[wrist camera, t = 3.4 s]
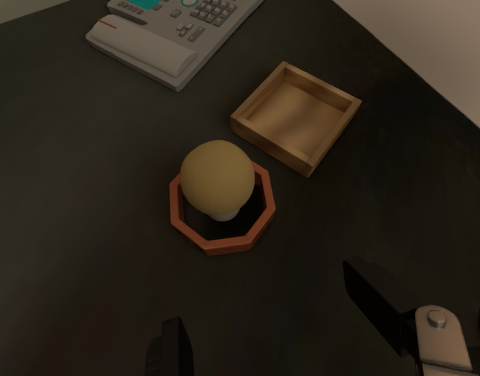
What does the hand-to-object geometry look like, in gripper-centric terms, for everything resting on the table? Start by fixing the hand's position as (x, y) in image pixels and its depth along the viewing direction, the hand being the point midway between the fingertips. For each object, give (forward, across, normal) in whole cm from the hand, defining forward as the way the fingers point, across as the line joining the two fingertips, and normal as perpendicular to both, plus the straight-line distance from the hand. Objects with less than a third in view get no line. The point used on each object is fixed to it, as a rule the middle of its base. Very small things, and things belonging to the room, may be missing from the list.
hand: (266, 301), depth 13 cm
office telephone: (+41, -1, -20) cm, 46 cm away
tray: (+24, -12, -3) cm, 26 cm away
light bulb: (+18, 0, +3) cm, 18 cm away
